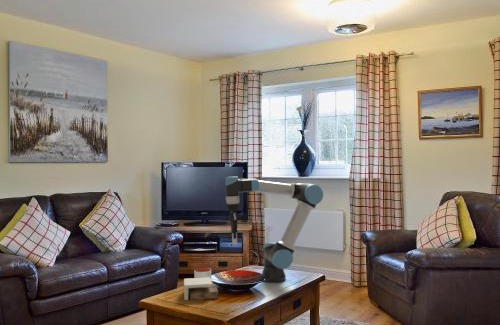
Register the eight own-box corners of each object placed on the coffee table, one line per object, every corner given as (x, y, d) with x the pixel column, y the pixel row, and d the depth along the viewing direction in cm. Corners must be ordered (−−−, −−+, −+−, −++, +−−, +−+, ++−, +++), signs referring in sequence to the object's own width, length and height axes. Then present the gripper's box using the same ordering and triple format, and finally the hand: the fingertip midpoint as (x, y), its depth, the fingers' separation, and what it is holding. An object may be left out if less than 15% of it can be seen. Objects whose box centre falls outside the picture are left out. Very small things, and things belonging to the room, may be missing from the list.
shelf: (210, 291, 264) (210, 277, 264) (212, 298, 250) (212, 283, 250) (184, 292, 262) (184, 278, 262) (184, 300, 248) (184, 285, 248)
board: (216, 294, 260) (216, 286, 260) (218, 298, 251) (218, 291, 251) (189, 295, 258) (189, 288, 257) (190, 300, 249) (190, 293, 249)
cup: (210, 289, 268) (210, 272, 268) (193, 289, 269) (193, 272, 269) (212, 284, 278) (212, 268, 278) (195, 284, 279) (195, 268, 279)
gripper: (225, 202, 273) (227, 242, 273) (227, 204, 260) (230, 246, 260) (237, 201, 274) (239, 241, 275) (241, 203, 261) (243, 245, 262)
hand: (234, 243), depth 268 cm, fingers closed
